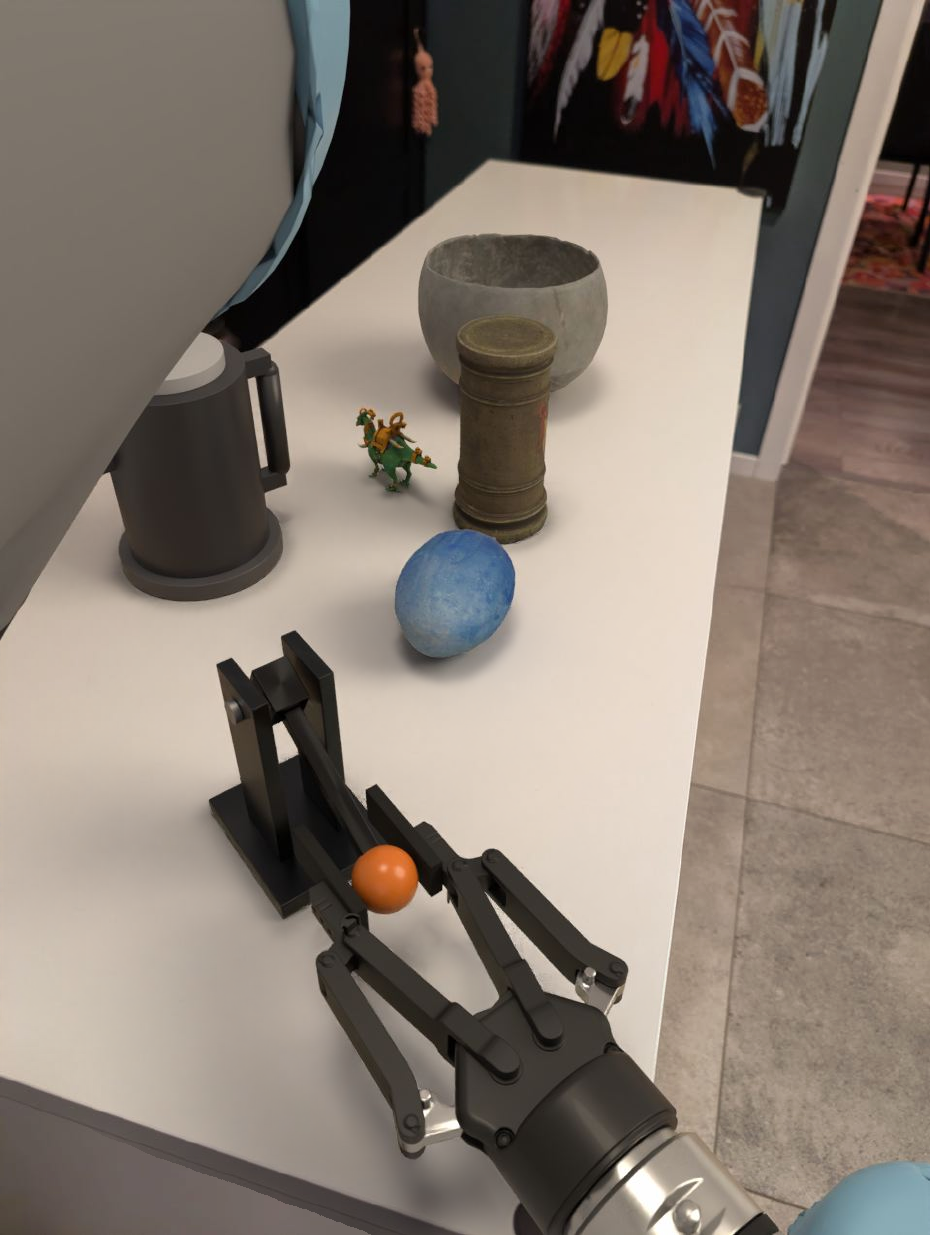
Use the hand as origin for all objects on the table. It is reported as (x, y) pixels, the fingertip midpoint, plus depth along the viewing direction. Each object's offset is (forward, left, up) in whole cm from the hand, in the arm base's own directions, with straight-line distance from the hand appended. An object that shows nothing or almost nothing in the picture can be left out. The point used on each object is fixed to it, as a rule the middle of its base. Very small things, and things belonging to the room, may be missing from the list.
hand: (337, 821), depth 54 cm
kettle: (+8, +38, -7) cm, 39 cm away
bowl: (+50, +47, -7) cm, 69 cm away
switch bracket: (0, +6, -7) cm, 9 cm away
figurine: (+28, +37, -7) cm, 47 cm away
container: (+33, +27, -7) cm, 43 cm away
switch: (0, +1, +1) cm, 2 cm away
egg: (+21, +17, -7) cm, 28 cm away
